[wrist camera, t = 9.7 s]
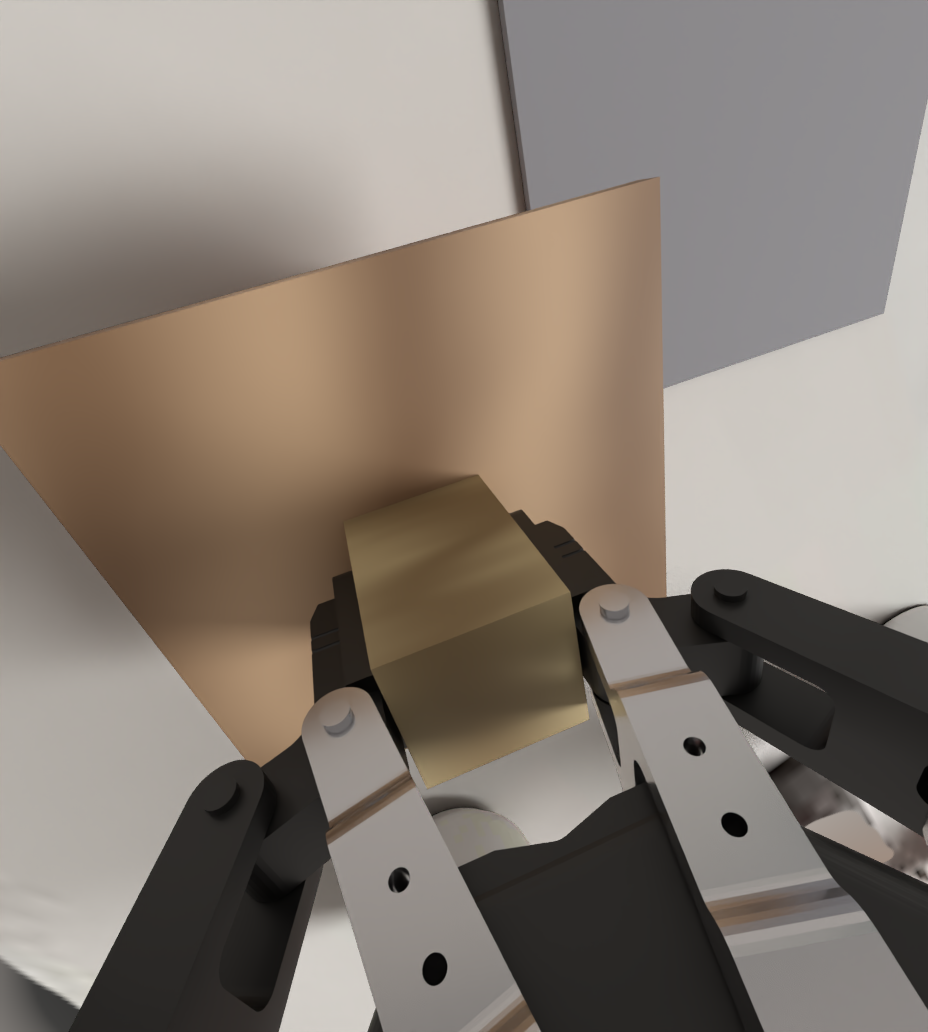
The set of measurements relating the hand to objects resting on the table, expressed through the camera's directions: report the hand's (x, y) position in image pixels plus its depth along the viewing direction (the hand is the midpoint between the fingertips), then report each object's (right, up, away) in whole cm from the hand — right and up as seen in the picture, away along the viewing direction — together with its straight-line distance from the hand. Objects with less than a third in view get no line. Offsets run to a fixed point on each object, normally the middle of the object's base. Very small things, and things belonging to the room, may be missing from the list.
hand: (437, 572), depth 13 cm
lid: (0, +1, +1) cm, 2 cm away
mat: (+11, +15, +6) cm, 20 cm away
